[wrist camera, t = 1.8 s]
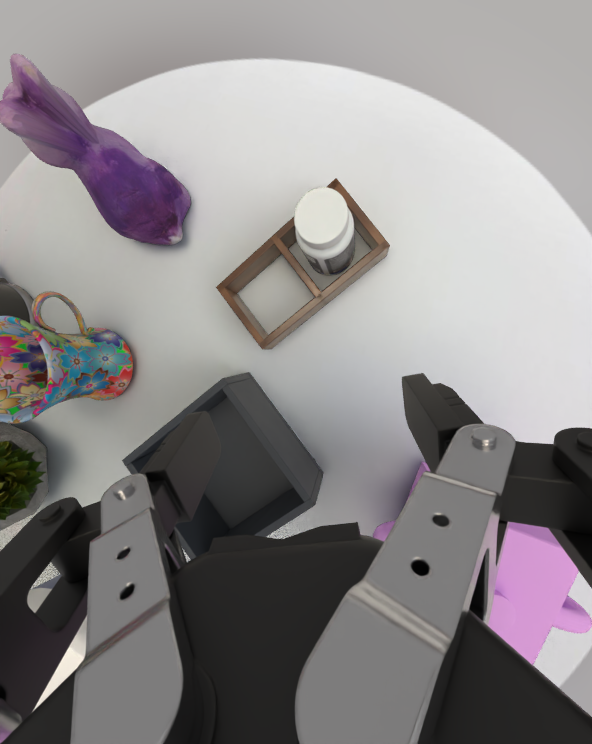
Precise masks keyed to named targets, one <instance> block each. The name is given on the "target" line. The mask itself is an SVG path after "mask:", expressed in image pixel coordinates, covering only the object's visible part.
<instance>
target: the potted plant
mask: <svg viewBox="0 0 592 744" xmlns="http://www.w3.org/2000/svg"><path fill="white" fill-rule="evenodd" d="M46 453H47V447H46V446H45V445H43V444H42V443H41V442H40V441H39V440H38V439H37V438H35V437H34V436H33V435H32V434H31V433H28V432H26V431H23V430H21V429H19V428H17V427H14V426H12V425H10V424H8V423H5V422H0V531H1V530H3V529H5V528H6V527H8V526H10V525H12V524H14V523H16V522H18V521H20V520H22V519H24V518H26V517H28V516H30V515H32V514H34V513H35V512H36V511H37V509H38V508H39V506H40V504H41V503H42V501H43V500H44V498H45V496H46V495H47V493H48V492H49V491H48V477H47V464H46Z"/></svg>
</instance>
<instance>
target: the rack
mask: <svg viewBox="0 0 592 744" xmlns="http://www.w3.org/2000/svg"><path fill="white" fill-rule="evenodd" d="M327 188H331V189H334V190H336V191H337V192H339V193H340V194H341V195H342V196H343V198H344V200H345V201H346V204H347V207H348V209H349V210H350V212H351V214H352V217H353V220H354V228H355V229H356V230H357V231H358V233H359V234H360V235H361V236H362V238H363V239H364V240H365V241H366V243H367V244H368V245H369V246H370V248H371V249H372V251H371V252H369V253H368V254H367V255H366V256H364V257H363V258H362V259H361V260H360V261H358V262H357V263H356V264H355V265H354V266H352V267H351V268H350V269H349V270H347V271H346V272H345V273H344V274H343V275H341V276H340V277H339V278H338V279H336V280H335V281H334V282H333V283H332V284H330V285H329V286H328V287H327V288H326V289H324V290H323V291H322V292H321V291H320V290H319V288H318V287H317V286H316V285H315V283H314V282H313V281H312V279H311V278H310V277H309V276H308V274H307V273H306V272H305V270H304V269H303V268H302V266H301V265H300V264H299V263H298V261H297V260H296V259H295V257H294V256H293V255H292V253H291V252H290V251H289V250H288V248H289V247H290V246H291V245H292V244H293V243H294V242H296V241H297V239H296V232H295V230H296V228H295V224H294V217H293V218H292V219H291V220H290V221H288V222H287V223H286V224H285V225H284V226H283V227H282V228H281V229H280V230H279V231H277V232H276V233H275V234H274V235H273V236H272V237H271V238H270V239H269V240H268V241H266V242H265V243H264V244H263V245H262V246H261V247H260V248H259V249H258V250H257V251H255V252H254V253H253V254H252V255H251V256H250V257H249V258H248V259H247V260H246V261H244V262H243V263H242V264H241V265H240V266H239V267H238V268H237V269H236V270H235V271H233V272H232V273H231V274H230V275H229V276H228V277H227V278H226V279H225V280H224V281H222V282H221V283H220V284H219V285H218V286H217V287H216V288H217V289H218V291H219V292H220V293H221V295H222V296H223V297H224V299H225V300H226V301H227V303H228V304H229V305H230V307H231V308H232V309H233V311H234V312H235V313H236V315H237V316H238V317H239V319H240V320H241V321H242V323H243V324H244V325H245V327H246V328H247V329H248V331H249V332H250V334H251V335H252V336H253V338H254V339H255V340H256V342H257V343H258V344H259V346H260V347H261V348H262V349H272V348H273V347H274V346H276V345H277V344H278V343H279V342H281V341H282V340H283V339H284V338H285V337H287V336H288V335H289V334H290V333H292V332H293V331H294V330H295V329H297V328H298V327H299V326H300V325H302V324H303V323H304V322H305V321H307V320H308V319H309V318H310V317H311V316H313V315H314V314H315V313H316V312H318V311H319V310H320V309H321V308H323V307H324V306H325V305H326V304H328V303H329V302H330V301H331V300H333V299H334V298H335V297H336V296H337V295H339V294H340V293H341V292H342V291H344V290H345V289H346V288H347V287H349V286H350V285H351V284H352V283H354V282H355V281H356V280H357V279H359V278H360V277H361V276H362V275H363V274H365V273H366V272H367V271H368V270H370V269H371V268H372V267H373V266H375V265H376V264H377V263H378V262H380V261H381V260H382V259H383V258H385V257H386V256H387V253H388V250H389V247H390V245H389V244H388V242H387V241H386V240H385V239H384V237H383V236H382V235H381V234H380V232H379V231H378V230H377V229H376V227H375V226H374V225H373V223H372V222H371V221H370V220H369V218H368V217H367V216H366V215H365V213H364V212H363V211H362V210H361V208H360V207H359V206H358V205H357V203H356V202H355V201H354V200H353V198H352V197H351V196H350V195H349V193H348V192H347V191H346V190H345V188H344V187H343V186H342V185H341V183H340V182H339V181H338V180H337V178H336V179H335V180H333V181H332V182H331V183H330V184H329V185H328V186H327ZM281 254H283V256H284V257H285V258H286V260H287V261H288V262H289V264H290V265H291V266H292V267H293V269H294V270H295V271H296V273H297V274H298V275H299V277H300V278H301V279H302V280H303V282H304V283H305V284H306V286H307V287H308V288H309V290H310V291H311V292H312V293H313V295H314V296H315V298H313V299H312V300H311V301H310V302H308V303H307V304H306V305H305V306H304V307H302V308H301V309H300V310H299V311H298V312H296V313H295V314H294V315H293V316H291V317H290V318H289V319H288V320H287V321H285V322H284V323H283V324H282V325H281V326H279V327H278V328H277V329H276V330H274V331H273V332H272V333H271V334H270V335H268V334H267V333H266V332H265V330H264V329H263V328H262V326H261V325H260V324H259V322H258V321H257V320H256V318H255V317H254V316H253V314H252V313H251V312H250V310H249V309H248V308H247V306H246V305H245V304H244V302H243V301H242V300H241V298H240V297H239V296H238V294H237V293H238V292H239V291H240V290H241V289H242V288H244V287H245V286H246V285H247V284H248V283H249V282H250V281H251V280H253V279H254V278H255V277H256V276H257V275H258V274H259V273H260V272H262V271H263V270H264V269H265V268H266V267H267V266H268V265H270V264H271V263H272V262H273V261H274V260H275V259H276V258H277V257H279V256H280V255H281Z"/></svg>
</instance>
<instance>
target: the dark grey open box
mask: <svg viewBox="0 0 592 744" xmlns="http://www.w3.org/2000/svg"><path fill="white" fill-rule="evenodd" d="M202 411H206V412H208V413H209V415H210V417H211V420H212V422H213V425H214V427H215V430H216V432H217V435H218V437H219V440H220V443H221V454H220V457H219V459H218V462H217V464H216V466H215V468H214V471H213V473H212V475H211V477H210V480H209V482H208V484H207V486H206V489H205V491H204V493H203V495H202V498H201V500H200V502H199V505H198V507H197V509H196V511H195V514H194V516H193V518H192V520H191V521H189V522H180V523H176V525H175V527H174V529H175V531H176V532H177V534H178V537H179V540H180V543H181V546H182V548H183V549H184V550H185V552H186V553H187V555H188V556H189V558H190V559H191V560H192V559H194V558H195V557H197V556H199V555H201V554H204V553H206V552H209V549H210V546H211V543H212V540H213V538H217V537H226V536H235V535H245V534H248V535H255V536H261V537H266V536H268V535H269V534H271V533H272V532H274V531H275V530H277V529H279V528H280V527H282V526H283V525H285V524H286V523H288V522H289V521H291V520H293V519H294V518H296V517H297V516H299V515H300V514H302V513H303V512H305V511H307V510H308V509H310V508H311V507H313V506H314V505H315V504H316V501H317V497H318V493H319V489H320V485H321V481H322V478H323V474H324V473H323V471H322V470H321V469H320V467H319V466H318V465H317V463H316V462H315V461H314V459H313V458H312V457H311V455H310V454H309V452H308V451H307V450H306V448H305V447H304V446H303V444H302V443H301V442H300V440H299V439H298V438H297V436H296V435H295V434H294V432H293V431H292V429H291V428H290V427H289V425H288V424H287V423H286V421H285V420H284V419H283V417H282V416H281V415H280V413H279V412H278V411H277V409H276V408H275V406H274V405H273V404H272V402H271V401H270V400H269V398H268V397H267V396H266V394H265V393H264V392H263V390H262V389H261V388H260V386H259V385H258V383H257V382H256V381H255V379H254V378H253V377H252V375H251V374H250V373H244V374H240V375H235V376H231V377H227V378H222V379H221V380H220V381H219V382H218V383H216V384H215V385H214V386H213V387H211V388H210V389H209V390H208V391H207V392H205V393H204V394H203V395H202V396H200V397H199V398H198V399H197V400H196V401H194V402H193V403H192V404H191V405H189V406H188V407H187V408H186V409H184V410H183V411H182V412H181V413H180V414H178V415H177V416H176V417H175V418H173V419H172V420H171V421H170V422H169V423H167V424H166V425H165V426H164V427H162V428H161V429H160V430H159V431H158V432H156V433H155V434H154V435H153V436H151V437H150V438H149V439H148V440H147V441H145V442H144V443H143V444H142V445H140V446H139V447H138V448H137V449H136V450H134V451H133V452H132V453H131V454H129V455H128V456H127V457H126V458H125V459H123V460H122V461H123V463H124V464H125V466H127V468H128V470H129V471H130V473H131V474H132V475H133V474H139V472H140V471H141V470H142V468H143V467H144V466H145V464H146V463H147V462H148V460H149V459H150V458H151V456H152V455H153V454H154V453H156V450H157V449H158V447H159V446H160V445H161V443H162V442H163V441H164V439H165V438H166V437H167V435H169V434H170V433H171V432H172V431H174V430H175V429H176V428H177V427H178V426H179V425H180V423H181V422H182V421H183V419H184V418H185V417H186V415H187V414H191V413H196V412H202Z"/></svg>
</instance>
